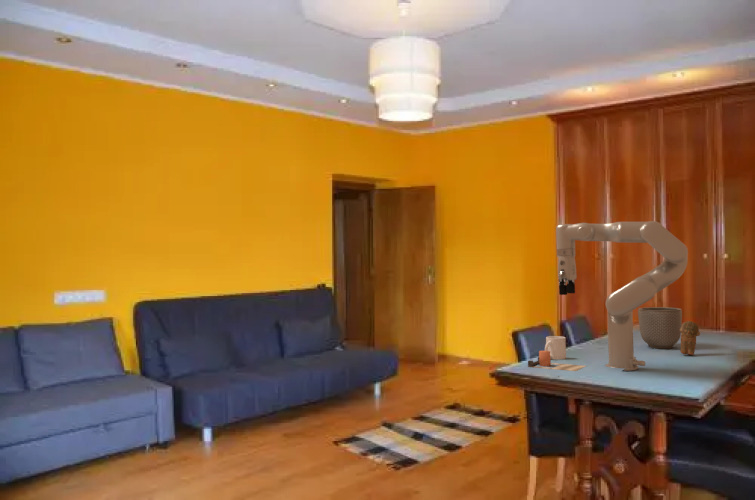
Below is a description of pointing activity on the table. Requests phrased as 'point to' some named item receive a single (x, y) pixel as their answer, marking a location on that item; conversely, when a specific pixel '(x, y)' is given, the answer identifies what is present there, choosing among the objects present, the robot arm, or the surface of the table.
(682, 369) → the table surface
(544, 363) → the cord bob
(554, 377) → the table surface
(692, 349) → the figurine
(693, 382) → the table surface
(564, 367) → the shelf board
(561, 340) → the mug
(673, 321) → the planter
